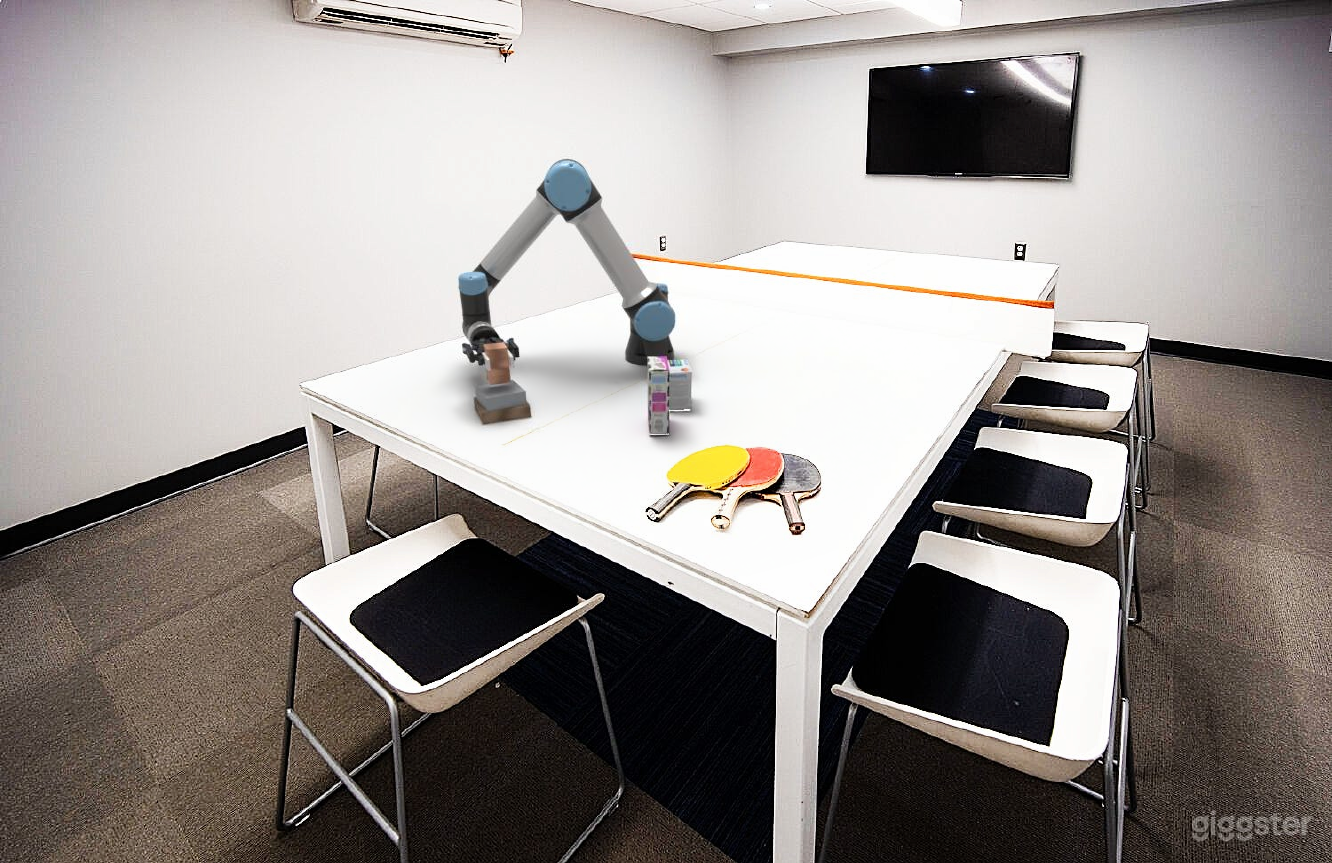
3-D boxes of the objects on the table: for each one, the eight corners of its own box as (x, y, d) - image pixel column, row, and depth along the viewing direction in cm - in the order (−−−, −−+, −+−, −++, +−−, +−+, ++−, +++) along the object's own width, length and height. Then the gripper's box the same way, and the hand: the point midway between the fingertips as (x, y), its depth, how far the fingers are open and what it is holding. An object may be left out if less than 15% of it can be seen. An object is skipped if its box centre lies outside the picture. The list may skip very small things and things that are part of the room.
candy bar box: (670, 436, 172) (670, 369, 165) (649, 436, 171) (648, 370, 165) (667, 418, 182) (667, 355, 175) (647, 418, 182) (646, 355, 175)
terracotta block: (506, 376, 186) (503, 342, 182) (510, 382, 182) (507, 347, 178) (487, 378, 184) (483, 344, 181) (490, 385, 180) (486, 349, 176)
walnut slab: (520, 403, 194) (519, 390, 192) (531, 418, 184) (530, 406, 182) (475, 409, 189) (473, 397, 188) (483, 426, 179) (481, 413, 178)
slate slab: (514, 392, 191) (512, 379, 190) (526, 404, 183) (525, 391, 182) (476, 399, 187) (474, 386, 185) (487, 412, 179) (486, 398, 177)
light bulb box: (662, 398, 195) (662, 359, 191) (687, 397, 195) (687, 358, 191) (666, 412, 185) (665, 372, 181) (692, 411, 186) (692, 371, 181)
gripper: (518, 348, 200) (538, 373, 181) (451, 356, 194) (464, 383, 174) (516, 321, 197) (536, 344, 178) (447, 329, 191) (460, 353, 171)
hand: (500, 363), depth 176 cm, fingers closed on terracotta block, 5 cm apart
